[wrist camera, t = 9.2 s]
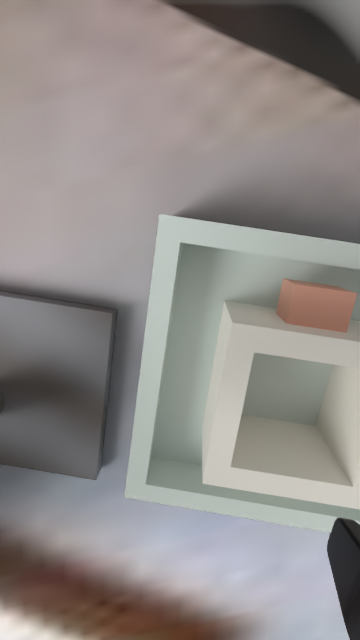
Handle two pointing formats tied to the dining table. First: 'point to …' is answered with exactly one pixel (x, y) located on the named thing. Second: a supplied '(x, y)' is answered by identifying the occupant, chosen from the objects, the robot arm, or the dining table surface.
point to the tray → (198, 354)
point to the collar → (280, 436)
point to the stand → (54, 383)
